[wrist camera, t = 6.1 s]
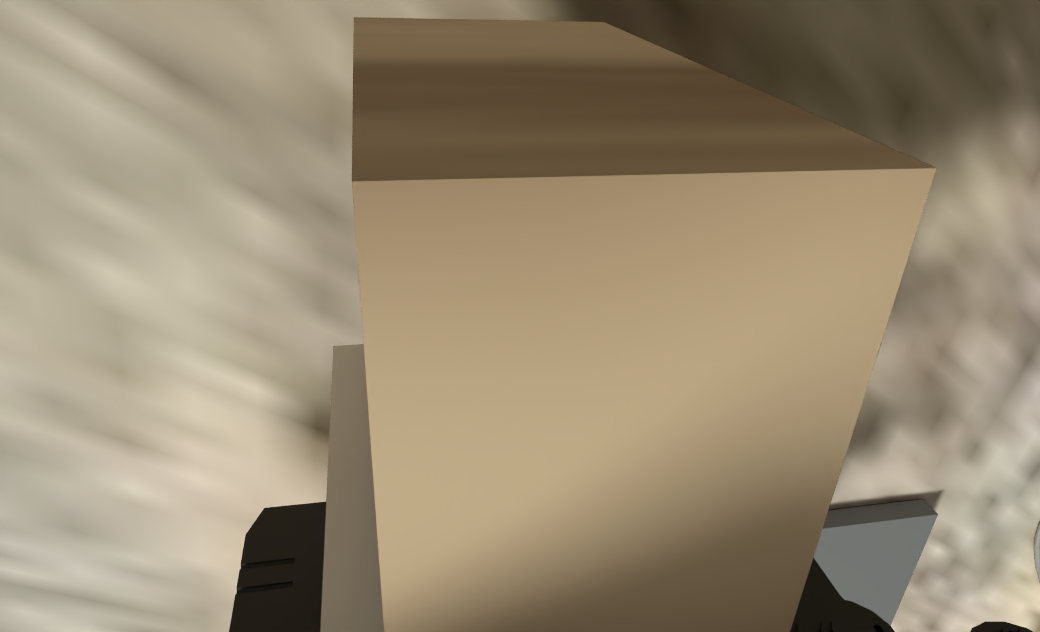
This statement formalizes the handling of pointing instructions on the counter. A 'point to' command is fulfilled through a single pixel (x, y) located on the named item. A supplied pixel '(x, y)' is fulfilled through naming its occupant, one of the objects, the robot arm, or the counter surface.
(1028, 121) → the counter surface
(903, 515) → the slate mat
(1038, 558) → the ceramic mug
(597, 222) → the tan rectangular block
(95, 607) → the counter surface
